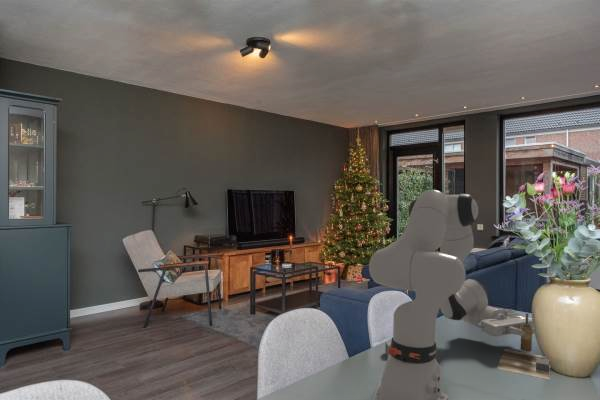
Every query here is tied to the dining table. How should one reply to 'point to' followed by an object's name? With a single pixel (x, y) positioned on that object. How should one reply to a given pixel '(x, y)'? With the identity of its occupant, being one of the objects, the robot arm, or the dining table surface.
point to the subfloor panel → (521, 364)
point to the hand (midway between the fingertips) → (528, 332)
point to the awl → (526, 336)
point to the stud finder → (542, 364)
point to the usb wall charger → (387, 347)
